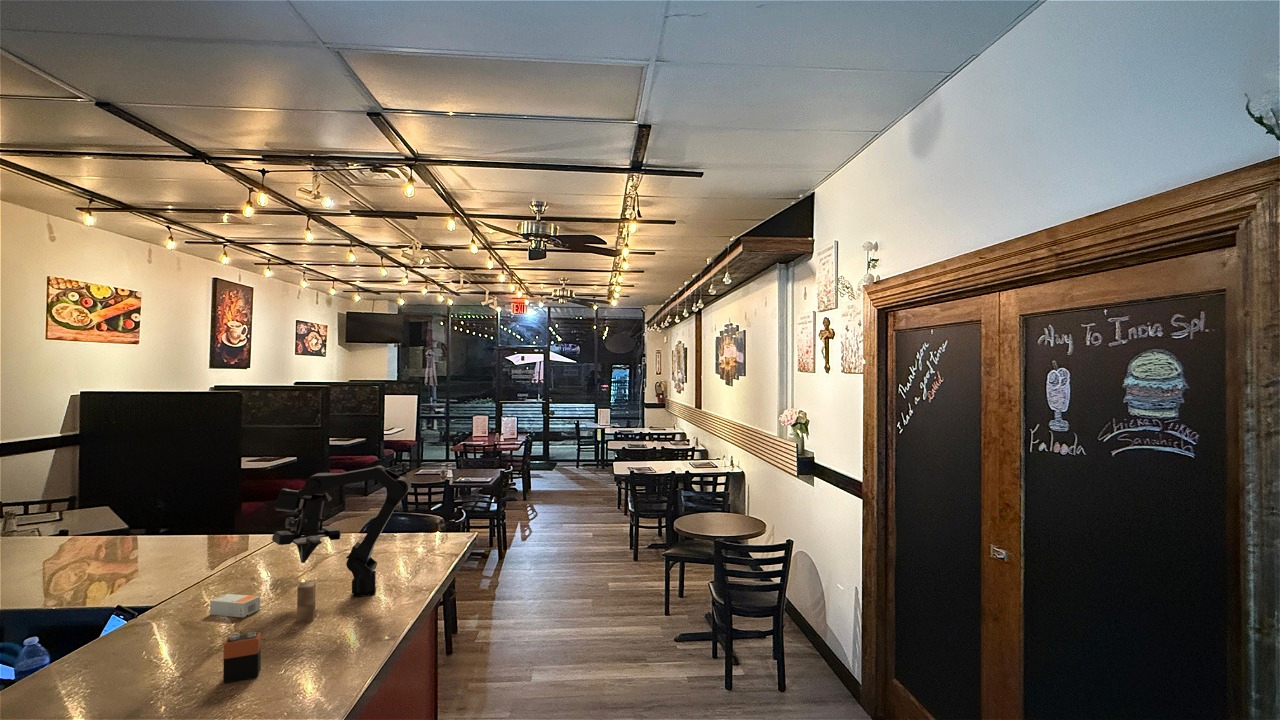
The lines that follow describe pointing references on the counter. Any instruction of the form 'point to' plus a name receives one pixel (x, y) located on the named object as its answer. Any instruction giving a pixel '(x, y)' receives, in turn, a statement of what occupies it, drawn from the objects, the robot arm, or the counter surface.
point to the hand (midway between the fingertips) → (302, 562)
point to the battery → (242, 657)
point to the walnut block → (306, 602)
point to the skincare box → (234, 605)
